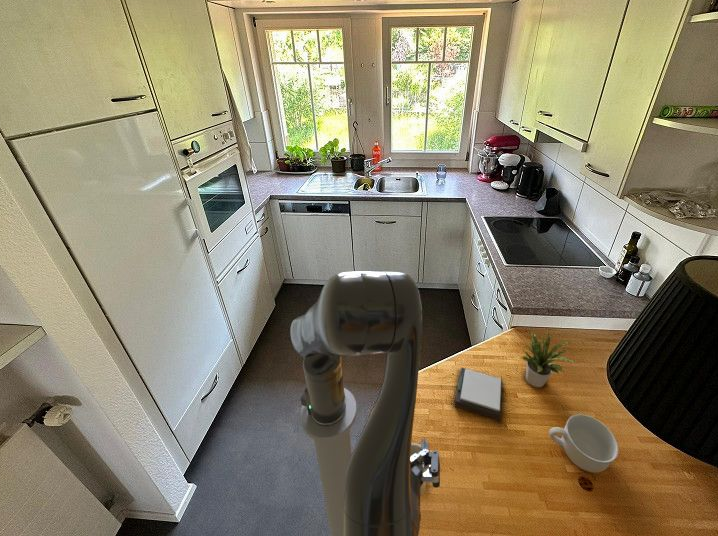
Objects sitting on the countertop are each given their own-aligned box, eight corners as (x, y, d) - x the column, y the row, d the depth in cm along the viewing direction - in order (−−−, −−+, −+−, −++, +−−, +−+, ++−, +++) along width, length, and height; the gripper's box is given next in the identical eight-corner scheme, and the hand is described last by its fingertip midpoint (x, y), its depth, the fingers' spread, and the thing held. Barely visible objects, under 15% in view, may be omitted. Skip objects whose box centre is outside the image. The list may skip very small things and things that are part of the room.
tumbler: (395, 492, 72) (396, 467, 68) (403, 463, 78) (404, 438, 73) (422, 503, 70) (425, 479, 66) (429, 472, 76) (431, 448, 71)
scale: (454, 406, 90) (455, 399, 89) (460, 372, 100) (461, 365, 99) (499, 420, 87) (501, 413, 85) (501, 384, 97) (502, 376, 95)
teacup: (604, 443, 81) (615, 424, 78) (611, 489, 73) (623, 470, 69) (544, 421, 87) (551, 402, 83) (543, 461, 78) (551, 441, 74)
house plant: (573, 381, 97) (589, 342, 90) (555, 412, 89) (571, 371, 81) (526, 355, 106) (537, 317, 99) (506, 380, 98) (517, 341, 90)
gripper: (439, 480, 47) (435, 423, 63) (345, 483, 49) (364, 426, 65) (446, 534, 47) (440, 462, 63) (350, 535, 48) (369, 465, 65)
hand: (402, 444), depth 64 cm, fingers open, 8 cm apart
